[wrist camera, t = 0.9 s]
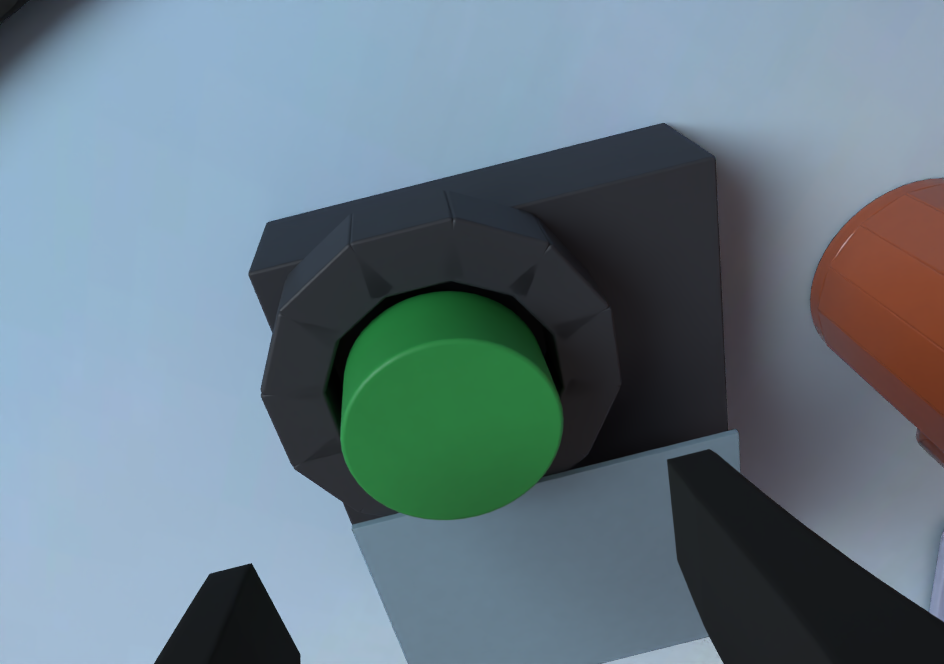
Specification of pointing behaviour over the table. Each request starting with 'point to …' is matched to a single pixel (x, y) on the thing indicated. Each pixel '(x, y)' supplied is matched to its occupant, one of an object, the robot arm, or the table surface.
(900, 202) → the mug
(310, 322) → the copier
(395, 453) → the button
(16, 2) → the mouse mat
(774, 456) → the table surface
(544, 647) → the plate
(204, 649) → the robot arm
